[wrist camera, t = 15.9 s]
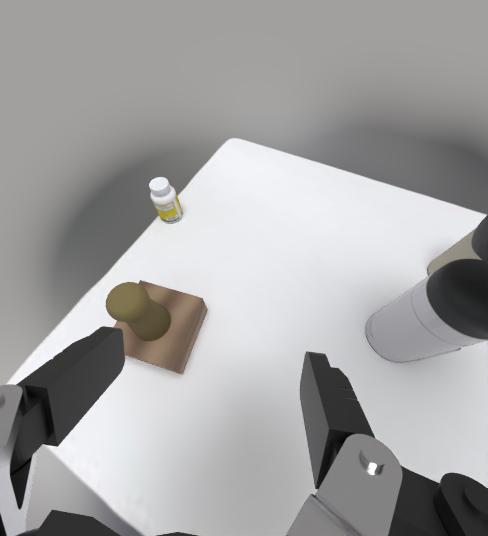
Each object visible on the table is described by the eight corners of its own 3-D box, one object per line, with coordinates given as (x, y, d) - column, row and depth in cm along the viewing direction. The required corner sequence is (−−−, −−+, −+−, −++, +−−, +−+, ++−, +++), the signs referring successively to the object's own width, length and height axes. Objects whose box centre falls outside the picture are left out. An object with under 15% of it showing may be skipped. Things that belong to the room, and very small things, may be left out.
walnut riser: (207, 309, 47) (202, 298, 41) (182, 374, 41) (172, 370, 36) (151, 293, 48) (140, 280, 43) (120, 353, 43) (102, 346, 38)
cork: (130, 313, 40) (94, 285, 31) (166, 299, 41) (141, 268, 32) (137, 347, 37) (100, 328, 28) (175, 332, 39) (151, 309, 29)
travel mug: (451, 301, 47) (553, 250, 31) (418, 270, 50) (496, 210, 35) (477, 282, 49) (586, 226, 33) (444, 254, 52) (528, 190, 37)
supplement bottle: (169, 204, 60) (156, 171, 52) (187, 211, 59) (177, 179, 50) (156, 219, 58) (140, 187, 49) (174, 227, 57) (161, 196, 48)
